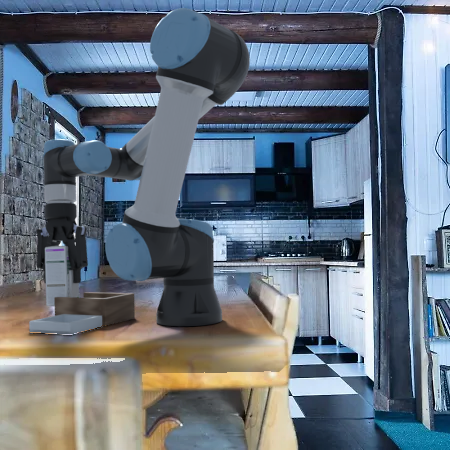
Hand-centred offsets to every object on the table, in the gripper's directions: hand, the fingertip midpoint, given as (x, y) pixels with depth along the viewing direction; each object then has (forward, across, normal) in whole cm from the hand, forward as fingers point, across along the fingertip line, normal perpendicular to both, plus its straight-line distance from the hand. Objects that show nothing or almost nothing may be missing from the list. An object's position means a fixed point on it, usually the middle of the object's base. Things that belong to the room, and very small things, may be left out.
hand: (62, 296), depth 122 cm
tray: (+6, -11, +12) cm, 18 cm away
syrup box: (+2, 0, 0) cm, 2 cm away
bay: (+6, -10, 0) cm, 11 cm away
